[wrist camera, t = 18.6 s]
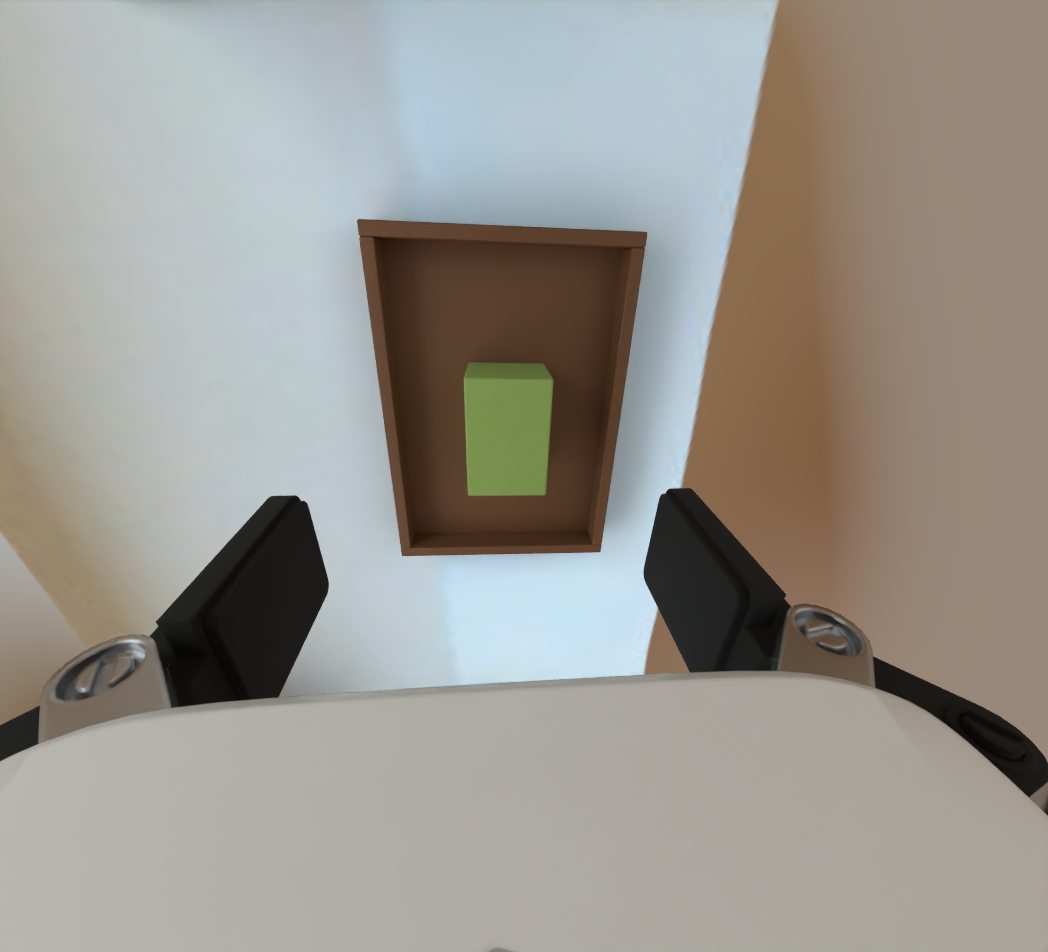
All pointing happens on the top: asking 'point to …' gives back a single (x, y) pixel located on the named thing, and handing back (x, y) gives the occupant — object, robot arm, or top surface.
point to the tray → (499, 337)
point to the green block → (507, 428)
